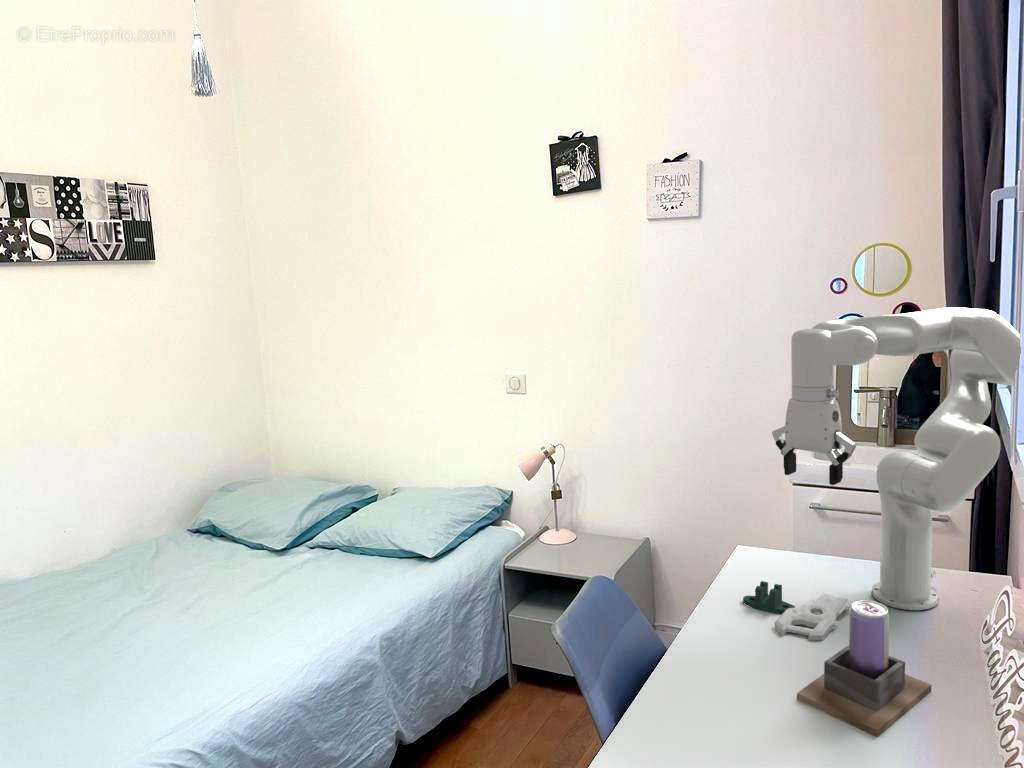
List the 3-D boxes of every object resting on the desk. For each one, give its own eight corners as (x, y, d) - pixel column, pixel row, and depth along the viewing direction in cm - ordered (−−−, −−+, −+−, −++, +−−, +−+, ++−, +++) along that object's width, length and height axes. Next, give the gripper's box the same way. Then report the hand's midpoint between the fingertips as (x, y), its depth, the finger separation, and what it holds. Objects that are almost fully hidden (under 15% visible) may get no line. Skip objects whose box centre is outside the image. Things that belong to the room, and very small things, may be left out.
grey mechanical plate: (805, 583, 166) (853, 595, 160) (805, 597, 167) (853, 610, 160) (770, 621, 153) (821, 636, 146) (770, 637, 154) (821, 652, 147)
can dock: (852, 659, 142) (852, 628, 141) (931, 690, 131) (932, 657, 130) (796, 699, 132) (796, 666, 130) (877, 737, 120) (877, 701, 119)
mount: (798, 609, 162) (798, 587, 161) (791, 618, 159) (791, 595, 158) (747, 598, 169) (746, 576, 168) (739, 606, 165) (739, 584, 164)
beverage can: (869, 703, 127) (870, 619, 124) (841, 685, 132) (841, 605, 130) (895, 693, 129) (897, 610, 126) (867, 676, 135) (868, 596, 132)
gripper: (865, 395, 144) (864, 482, 147) (783, 385, 157) (784, 465, 161) (844, 402, 139) (843, 492, 143) (761, 391, 153) (763, 474, 156)
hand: (812, 478), depth 152 cm, fingers open, 9 cm apart
